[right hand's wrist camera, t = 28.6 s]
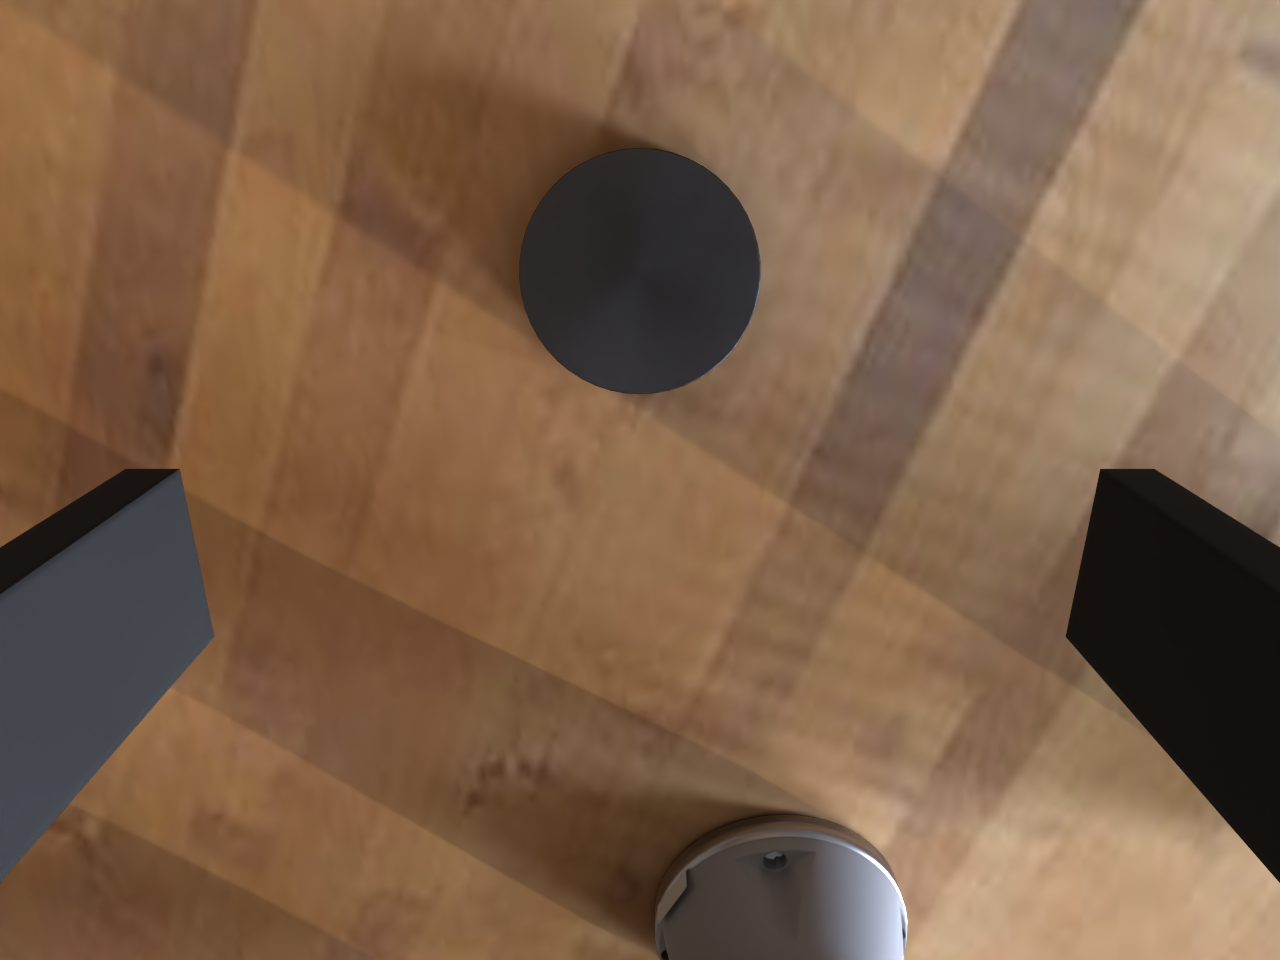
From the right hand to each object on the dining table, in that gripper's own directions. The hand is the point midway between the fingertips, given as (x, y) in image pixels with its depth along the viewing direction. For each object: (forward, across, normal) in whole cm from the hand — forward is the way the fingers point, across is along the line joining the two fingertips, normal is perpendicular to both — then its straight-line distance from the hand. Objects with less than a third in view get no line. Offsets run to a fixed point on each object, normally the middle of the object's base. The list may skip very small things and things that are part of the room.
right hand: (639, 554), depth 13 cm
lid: (+28, 0, 0) cm, 28 cm away
